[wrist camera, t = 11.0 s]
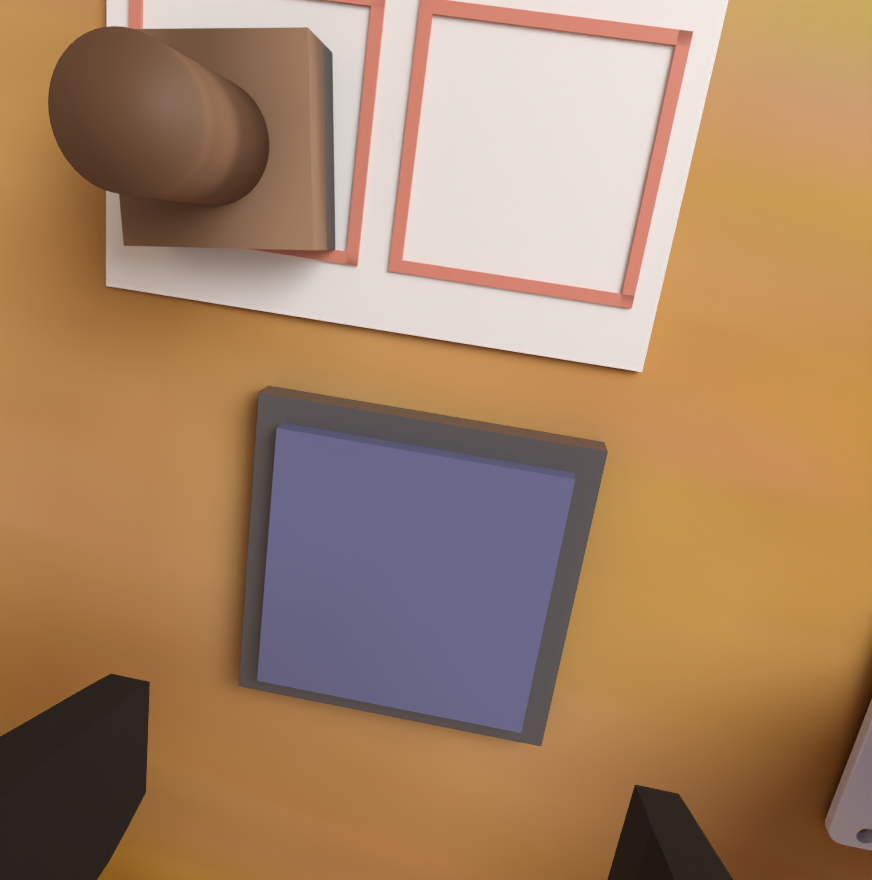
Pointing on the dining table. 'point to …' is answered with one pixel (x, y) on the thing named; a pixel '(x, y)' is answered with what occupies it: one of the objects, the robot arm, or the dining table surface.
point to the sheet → (473, 170)
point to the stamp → (203, 133)
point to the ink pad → (413, 561)
